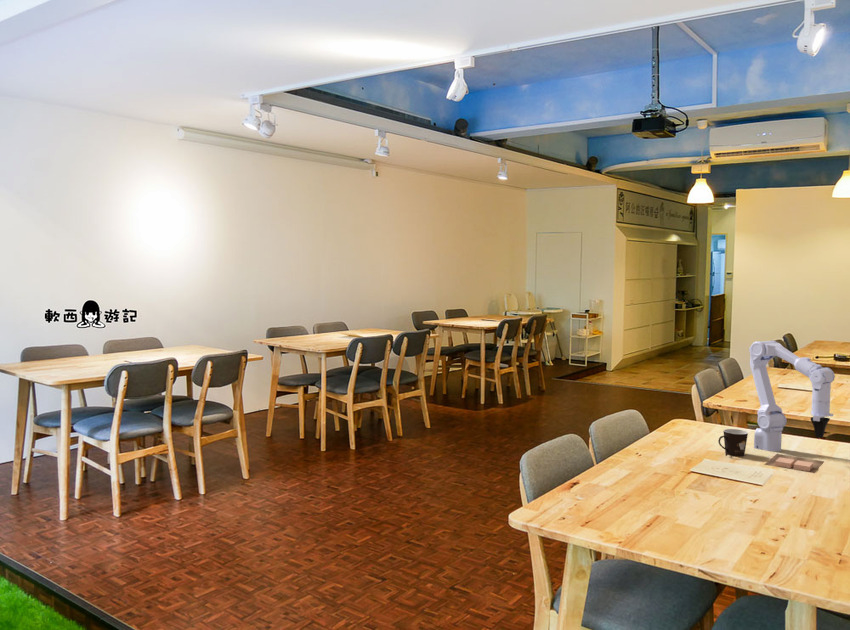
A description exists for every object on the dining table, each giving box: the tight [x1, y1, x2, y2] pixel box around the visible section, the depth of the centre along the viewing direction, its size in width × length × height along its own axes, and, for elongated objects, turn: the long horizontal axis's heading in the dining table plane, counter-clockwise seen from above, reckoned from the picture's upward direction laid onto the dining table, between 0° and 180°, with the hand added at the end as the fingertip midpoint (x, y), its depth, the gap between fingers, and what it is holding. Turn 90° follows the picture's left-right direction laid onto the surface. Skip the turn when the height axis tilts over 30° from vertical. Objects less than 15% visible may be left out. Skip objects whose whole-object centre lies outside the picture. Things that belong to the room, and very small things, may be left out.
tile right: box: [794, 460, 813, 472], centre depth 243 cm, size 5×2×6 cm
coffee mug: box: [717, 428, 749, 458], centre depth 261 cm, size 12×9×10 cm
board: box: [763, 453, 825, 474], centre depth 250 cm, size 16×19×1 cm
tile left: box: [775, 457, 795, 469], centre depth 246 cm, size 5×2×6 cm
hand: (819, 437), depth 251 cm, fingers closed
